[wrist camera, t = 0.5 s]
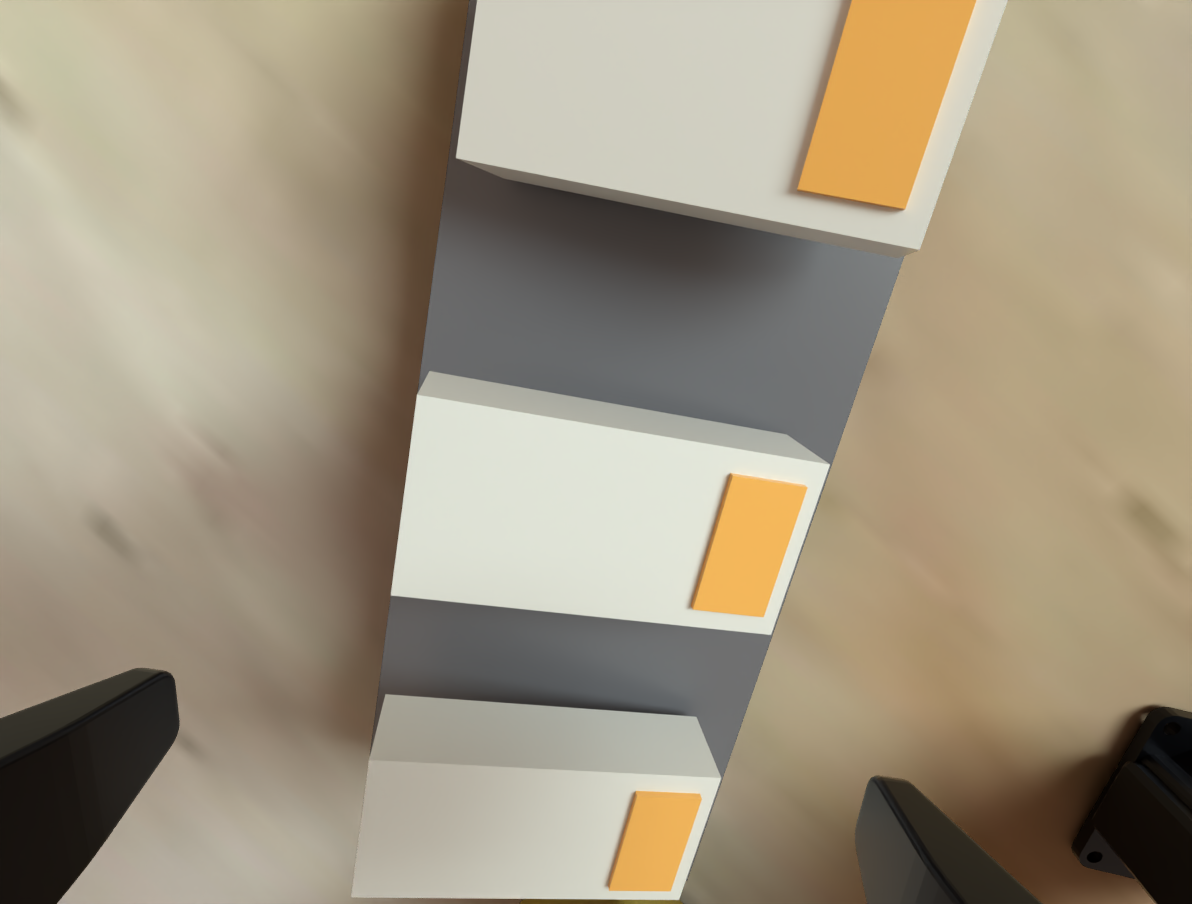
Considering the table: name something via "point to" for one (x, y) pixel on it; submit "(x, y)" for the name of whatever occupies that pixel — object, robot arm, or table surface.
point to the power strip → (636, 379)
